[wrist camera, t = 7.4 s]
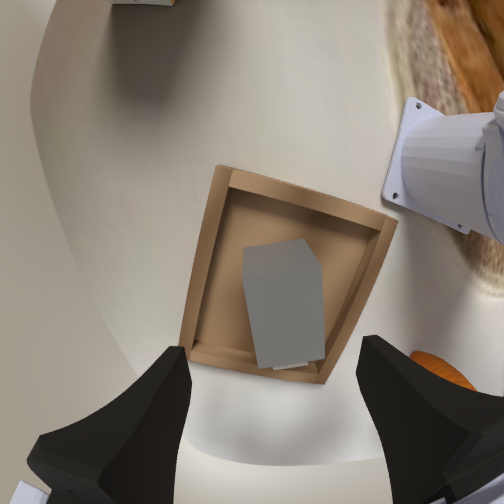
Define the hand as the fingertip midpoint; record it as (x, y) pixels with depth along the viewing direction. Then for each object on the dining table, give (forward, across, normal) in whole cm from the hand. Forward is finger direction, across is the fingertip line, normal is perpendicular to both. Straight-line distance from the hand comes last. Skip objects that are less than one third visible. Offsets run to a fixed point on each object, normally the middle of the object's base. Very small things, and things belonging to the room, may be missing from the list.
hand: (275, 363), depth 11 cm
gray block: (+9, -1, +1) cm, 9 cm away
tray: (+10, -1, +1) cm, 10 cm away
